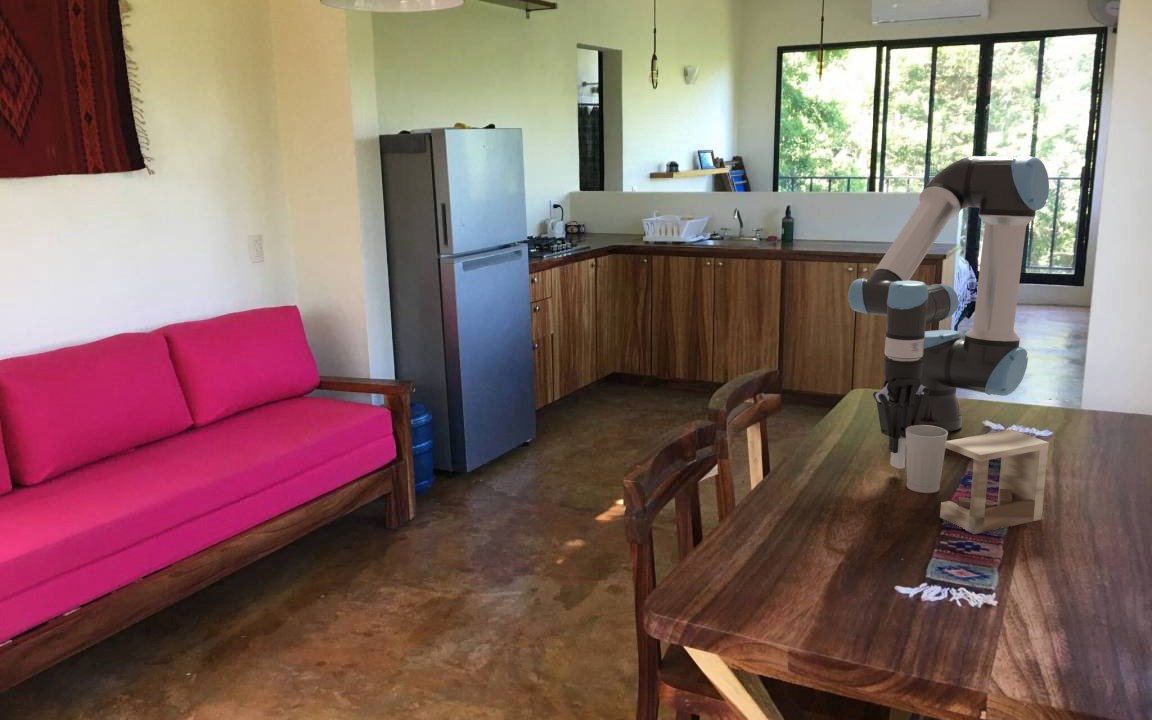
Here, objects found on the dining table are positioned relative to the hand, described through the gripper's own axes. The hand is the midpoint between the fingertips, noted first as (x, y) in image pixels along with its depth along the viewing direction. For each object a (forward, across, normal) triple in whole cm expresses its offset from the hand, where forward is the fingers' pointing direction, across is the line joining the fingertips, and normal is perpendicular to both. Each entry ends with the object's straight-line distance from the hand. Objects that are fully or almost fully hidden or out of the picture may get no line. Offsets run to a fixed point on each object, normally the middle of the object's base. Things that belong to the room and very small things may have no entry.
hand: (897, 466), depth 196 cm
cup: (+2, 0, -8) cm, 8 cm away
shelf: (+2, 0, -25) cm, 25 cm away
